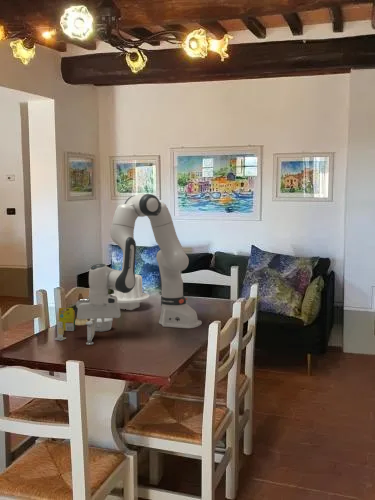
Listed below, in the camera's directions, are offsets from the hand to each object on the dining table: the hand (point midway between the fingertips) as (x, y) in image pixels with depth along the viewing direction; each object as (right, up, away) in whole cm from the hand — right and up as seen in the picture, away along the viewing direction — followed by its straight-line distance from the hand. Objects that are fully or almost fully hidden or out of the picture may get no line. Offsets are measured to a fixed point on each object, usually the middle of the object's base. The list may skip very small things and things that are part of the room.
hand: (99, 327), depth 258 cm
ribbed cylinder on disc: (+7, +3, +63) cm, 63 cm away
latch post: (-18, -5, -3) cm, 19 cm away
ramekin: (-1, -3, +15) cm, 15 cm away
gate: (-3, -4, -4) cm, 7 cm away
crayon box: (-18, -3, +13) cm, 22 cm away
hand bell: (-14, -2, +26) cm, 30 cm away
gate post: (-3, -6, -10) cm, 12 cm away
